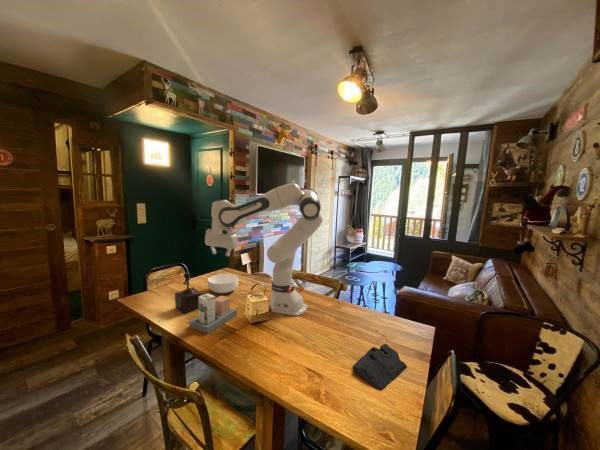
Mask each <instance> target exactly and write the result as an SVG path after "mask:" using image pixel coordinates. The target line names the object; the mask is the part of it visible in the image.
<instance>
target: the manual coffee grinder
mask: <svg viewBox="0 0 600 450" xmlns="http://www.w3.org/2000/svg"><path fill="white" fill-rule="evenodd" d="M182 277H184V279H185V280H184V281H183V282H182V285H186V289H183V290H181V291H177V292H175V293H174V302H175V310H177V309H178V310H179V311H178V310H177V311H178V312H180V311H181V312H182V313H181V312H180V313H181V314H183V313H184V314H183V315H187V314H189V312H190V313H192V312H191V311H193V312H195V311H197V310H196V309H198V310H199V296H201V295H202V292H201V291H200V290H198V289H196V288H195V287H194V286H193V287H189V284H190V281H191V279H190V277H191V273H190V272H185V273H183V276H182ZM194 310H195V311H194ZM186 313H187V314H186Z"/></svg>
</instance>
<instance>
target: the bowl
mask: <svg viewBox="0 0 600 450" xmlns="http://www.w3.org/2000/svg"><path fill="white" fill-rule="evenodd" d="M238 286H239V276H238V275H236V274H233V273H219V274H214V275H212V276H209V277H208V279H207V287H208V289H209V290H210V291H212V292H214V293H215V294H227V293H231V292H233V290H235V289H237V287H238Z"/></svg>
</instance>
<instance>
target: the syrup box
mask: <svg viewBox="0 0 600 450" xmlns="http://www.w3.org/2000/svg"><path fill="white" fill-rule="evenodd" d="M215 298H216V296H215V295H213V294H210V293H205V294H201V296H199V309H198V317H199V323H200V324H203V325H206V326H207V325H208V324H210V323H212V322H213V321H215Z"/></svg>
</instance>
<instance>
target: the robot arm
mask: <svg viewBox="0 0 600 450" xmlns="http://www.w3.org/2000/svg"><path fill="white" fill-rule="evenodd" d="M293 205H294V206H295V205H296V206H299V209H298V210H299V212H300V213H301V215H302V216H301V217H300V218H299V219H298V220H297V221H296V222H295V223H294V224H293V225H292V226H291V227H290V229H288V231H286V232H285V233H283V235H281V236H280V237H279V238H278V239H277V240H276V241H275V242H273V243H272V244H271V245H270V247H268V248H267V252H266V256H267V258H268V261H270V262H271V263H275V264H274V266H273V268H272V282H271V298H270V302H269V305H270V306H269V308H270V309H271V312H272V313H276V314H282V315H283V314H285V315H290V316H295V317H296V316H297V317H298V316H300V315H303V314H304V313H305V312H306V311H307V309H308V305H307V304H305V301H304V298H303V296H302V295H301V294H300V293H299V292H298V291H297V290H296V289H295V287H296V284H293V282H292V279H293V278H292V275H293V267H294V262H295V256H296V253H297V251H298V249H299V248H300V247H301V246H302V245H303V244H305V242H307V240H309V238H311V237H312V235H314V233H315V232H317V230H318V229H319V228H320V226H321V224H322V223H323V217H322V215H321V213H320V212H321V199H320V197H319V196H318V193H317V192H316V191H315V190H314V189H312V188H305V187H304V188H303V187H300V186H299V185H298V184H297V183H295V182H294V183H293V182H292V183H287V184H283V185H279V186H277V187H274V188H273V189H271V190H269V191H266V193H264V194H261V196H259V197H257V198H255V199H254V200H251V201H249V202H246V203H243V204H241V205H236V204H233V203H232V202H230V201H229V200H228V199H217V200H215V201H213V202H212V205H211V219H212V220H211V228H207V229H206V230H205V235H204V243H205V246H210V249H211V253H212V254H213V255H216V254H217V250H216V248H215V247H217V248H224V249H226V252H225V257H230V256H231V252H232V250H234V249H237V247H238V246H239V244H238V235H237V234H238V233H237V232H238V230H237V229H236V228H233V227H235V226H237V225H240V224H243V223H244V222H245V221H246V220H247V217H250V216H253V215H255V214H258V213H264V212H272V211H273V212H274V211H278V210H282V209H285V208H287V207H289V206H293Z"/></svg>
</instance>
